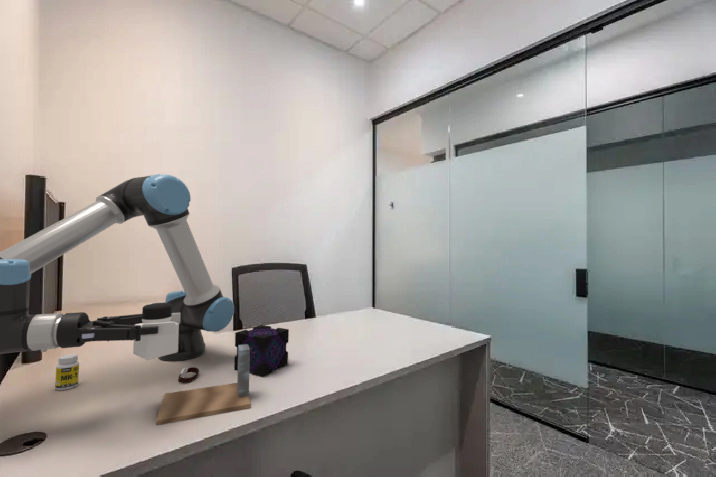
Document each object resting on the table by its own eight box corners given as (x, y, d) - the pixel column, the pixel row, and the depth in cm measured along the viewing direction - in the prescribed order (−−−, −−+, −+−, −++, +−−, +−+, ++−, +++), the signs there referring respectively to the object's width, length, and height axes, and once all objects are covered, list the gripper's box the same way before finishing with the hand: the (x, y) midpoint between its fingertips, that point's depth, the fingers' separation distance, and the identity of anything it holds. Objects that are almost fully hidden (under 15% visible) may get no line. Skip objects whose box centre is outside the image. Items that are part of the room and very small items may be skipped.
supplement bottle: (58, 392, 86) (59, 360, 86) (52, 387, 88) (53, 356, 88) (81, 385, 90) (82, 355, 90) (74, 381, 92) (75, 352, 92)
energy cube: (260, 358, 114) (261, 324, 114) (287, 364, 109) (288, 329, 109) (234, 370, 103) (235, 332, 103) (262, 377, 98) (263, 338, 98)
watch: (187, 374, 100) (188, 362, 100) (202, 374, 100) (203, 362, 100) (173, 384, 92) (173, 372, 92) (189, 385, 92) (189, 372, 92)
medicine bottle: (178, 352, 79) (180, 303, 79) (146, 360, 73) (148, 307, 73) (164, 346, 82) (165, 299, 83) (132, 354, 77) (134, 303, 77)
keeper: (156, 425, 71) (158, 366, 72) (164, 397, 84) (166, 347, 84) (250, 407, 80) (251, 355, 80) (245, 385, 92) (246, 339, 93)
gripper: (81, 334, 81) (182, 327, 90) (34, 365, 60) (171, 352, 69) (82, 304, 81) (182, 300, 90) (36, 325, 60) (172, 317, 69)
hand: (177, 322), depth 79 cm, fingers closed on medicine bottle, 10 cm apart
